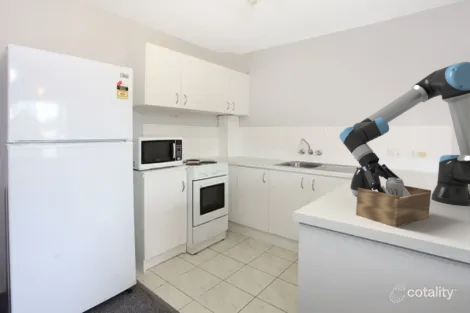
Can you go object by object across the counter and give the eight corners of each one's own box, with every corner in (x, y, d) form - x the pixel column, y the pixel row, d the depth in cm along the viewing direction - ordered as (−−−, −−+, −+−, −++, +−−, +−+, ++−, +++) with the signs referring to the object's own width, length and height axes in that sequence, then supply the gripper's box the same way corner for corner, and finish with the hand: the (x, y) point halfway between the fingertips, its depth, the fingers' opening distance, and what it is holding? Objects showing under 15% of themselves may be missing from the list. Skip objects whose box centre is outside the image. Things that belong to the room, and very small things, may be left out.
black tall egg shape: (364, 193, 139) (366, 166, 137) (375, 198, 128) (378, 168, 127) (346, 193, 138) (347, 165, 137) (356, 198, 128) (358, 168, 126)
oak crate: (355, 214, 101) (357, 188, 100) (389, 207, 113) (391, 183, 112) (395, 227, 88) (397, 196, 87) (428, 217, 100) (431, 190, 99)
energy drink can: (381, 216, 100) (384, 178, 99) (384, 212, 105) (387, 176, 103) (399, 219, 96) (403, 180, 95) (402, 216, 101) (405, 178, 100)
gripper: (375, 161, 118) (408, 201, 106) (341, 163, 106) (374, 209, 94) (388, 151, 113) (424, 192, 101) (354, 151, 101) (390, 198, 89)
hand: (400, 200), depth 98 cm, fingers open, 12 cm apart
